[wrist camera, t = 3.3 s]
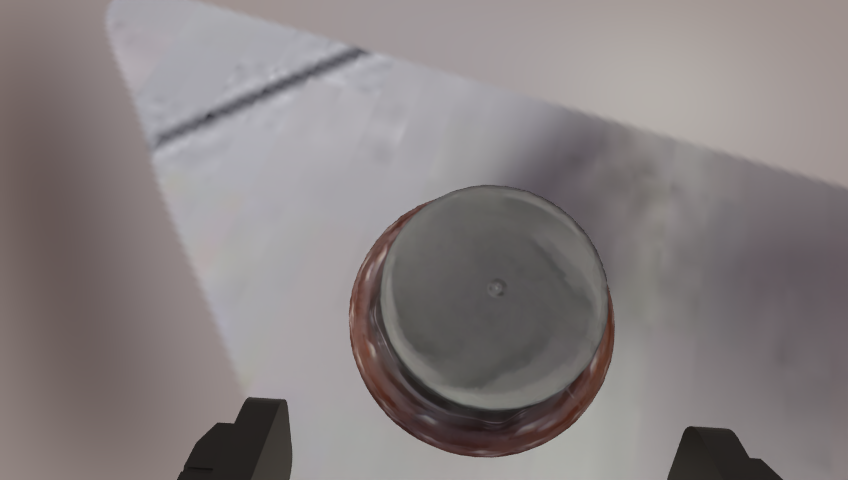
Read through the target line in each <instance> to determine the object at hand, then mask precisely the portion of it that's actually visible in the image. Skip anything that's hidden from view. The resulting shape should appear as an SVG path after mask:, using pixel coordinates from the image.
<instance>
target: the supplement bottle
mask: <svg viewBox="0 0 848 480" xmlns="http://www.w3.org/2000/svg"><path fill="white" fill-rule="evenodd" d="M349 326H350V340H351V347H352V351H353V356H354V358H355V361H356V364H357V367H358V369H359V372H360V374H361V377H362V379H363V381H364V383H365V385H366V387H367V389H368V390H369V392H370V393H371V395H372V397H373V398H374V399H375V401H376V402H377V404H378V405H379V406H380V407H381V409H382V410H383V411H384V412H385V413H386V415H387V416H388V417H390V418H391V420H392V421H393V422H395V423H396V424H397V425H398V426H399V427H401V428H402V429H403V430H405V431H406V432H407V433H409V434H411V435H412V436H414V437H416V438H417V439H419V440H421V441H423V442H425V443H427V444H429V445H431V446H434V447H436V448H439V449H441V450H444V451H446V452H450V453H454V454H459V455H464V456H472V457H501V456H508V455H513V454H518V453H521V452H524V451H527V450H530V449H532V448H535V447H538V446H540V445H542V444H544V443H546V442H548V441H550V440H552V439H553V438H555V437H556V436H558V435H559V434H561V433H562V432H563V431H565V430H566V429H568V428H569V427H570V426H571V425H572V424H573V423H575V422H576V421H577V420H578V418H579V417H580V416H581V415H582V414H583V413H584V412H585V410H586V409H587V408H588V407H589V405H590V404H591V403H592V401H593V399H594V398H595V396H596V394H597V393H598V391H599V389H600V388H601V386H602V384H603V382H604V379H605V376H606V373H607V371H608V368H609V365H610V362H611V358H612V352H613V345H614V328H615V326H614V311H613V305H612V300H611V296H610V291H609V288H608V285H607V279H606V275H605V271H604V269H603V265H602V262H601V260H600V258H599V255H598V253H597V251H596V249H595V247H594V245H593V244H592V242H591V240H590V239H589V237H588V236H587V234H586V233H585V232H584V230H583V229H582V228H581V227H580V226H579V225H578V224H577V223H576V222H575V221H574V219H573V218H572V217H570V216H569V215H568V214H566V213H565V212H564V211H563V210H562V209H560V208H559V207H558V206H556V205H554V204H553V203H552V202H549V201H547V200H546V199H544V198H543V197H540V196H537V195H535V194H533V193H531V192H528V191H525V190H520V189H517V188H512V187H507V186H495V185H481V186H473V187H468V188H464V189H460V190H456V191H453V192H450V193H448V194H446V195H444V196H442V197H439V198H437V199H435V200H432V201H429V202H427V203H424V204H422V205H419V206H417V207H416V208H415V209H412V210H411V211H409V212H407V213H406V214H404V215H402V216H401V217H400V218H399V219H398V220H397V221H395V222H394V223H393V224H392V225H391V226H389V227H388V228H387V229H386V230H385V231H384V233H383V234H382V235H381V236H380V238H379V239H378V240H377V241H376V243H375V244H374V245H373V247H372V248H371V249H370V251H369V253H368V254H367V256H366V258H365V260H364V262H363V264H362V265H361V267H360V269H359V271H358V274H357V277H356V280H355V283H354V286H353V289H352V296H351V299H350V309H349Z"/></svg>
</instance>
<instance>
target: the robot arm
mask: <svg viewBox="0 0 848 480" xmlns="http://www.w3.org/2000/svg"><path fill="white" fill-rule="evenodd" d="M291 467H292V444H291V434H290V424H289V415H288V405H287V402H286V400H285V399H269V398H253V397H249V398H247V399H246V400H245V402H244V404H243V406H242V408H241V410H240V412H239V414H238V417H237V419H236V421H235V423H234V424H231V423H217V424H216V425H215V426H214V427H212V428H211V429H210V430H209V431H208V432H207V433H206V434H205V435H204V436H203V437H202V438H201V439H200V440H199V441H198V442H197V443H196V444H195V446H194V448H193V450H192V452H191V454H190V456H189V458H188V460H187V462H186V463H185V465H184V470H183V472H181V473H180V475H179V477H178V479H177V480H289V479H290V474H291ZM667 480H783V479H782V478H781V477H780V476H778V475H777V474H776V473H775V472H774V471H773V470H772V469H771V468H770V467H769V466H768V465H767V464H766V463H765V462H763V461H762V460H761V459H755V458H749V456H748V455H747V453H746V451H745V449H744V448H743V446H742V444H741V443H740V441H739V439H738V437H737V436H736V435H735V433H734V432H733V431H731V430H730V429H724V428H708V427H693V426H689V427H687V428H686V429H685V431H684V433H683V436H682V439H681V441H680V444H679V447H678V450H677V453H676V455H675V458H674V461H673V464H672V467H671V469H670V472H669V475H668V478H667Z"/></svg>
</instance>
